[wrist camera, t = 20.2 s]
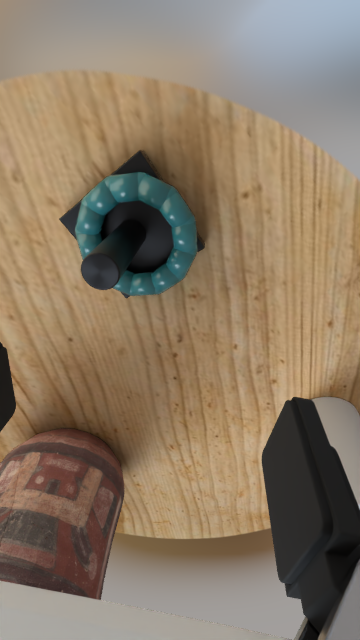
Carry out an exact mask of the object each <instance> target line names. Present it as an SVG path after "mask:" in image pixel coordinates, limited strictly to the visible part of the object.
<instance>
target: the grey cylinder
mask: <svg viewBox="0 0 360 640" xmlns="http://www.w3.org/2000/svg"><path fill="white" fill-rule="evenodd" d="M311 400H312V401H313V402H314V403H315V406H316V408H317V411H318V414H319V416H320V419H321V422H322V424H323V427H324V430H325V432H326V435H327V438H328V440H329V443H330V446H333V447H334V448H335V449H336V451H337V453H338V455H339V457H340V460H341V462H342V465H343V468H344V470H345V473H346V475H347V478H348V480H349V483H350V485H351V488H352V491H353V493H354V496H355V498H356V501H357V503H358V506H359V508H360V415H359V413H358V412H357V410H356V408H355V407H354V406H353V405H352V404H351V403H349V402H348V401H346V400H343V399H340V398H335V397H320V398H315V399H311Z"/></svg>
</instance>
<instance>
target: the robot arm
mask: <svg viewBox="0 0 360 640" xmlns="http://www.w3.org/2000/svg"><path fill="white" fill-rule="evenodd" d="M15 409H16V402H15V396H14V390H13V384H12V378H11V372H10V366H9V360H8V354H7V349H6V348H5V347H3V345H2V343H1V342H0V432H1V430H2V429H3V428H4V426H5V425H6V424H7V422H8V421H9V420H10V418H11V417H12V415H13V414H14V412H15ZM262 467H263V474H264V481H265V488H266V495H267V502H268V509H269V516H270V523H271V530H272V536H273V544H274V551H275V557H276V565H277V572H278V577H279V580H280V581H281V582H282V583H285V588H286V594H287V597H292V598H298V599H301V602H302V608H303V613H304V615H305V616H306V617H305V619H304V621H303V623H302V625H301V627H300V629H299V631H298V633H297V635H296V637H295V639H294V640H360V508H359V506H358V503H357V501H356V498H355V496H354V493H353V491H352V488H351V485H350V483H349V480H348V478H347V475H346V473H345V470H344V468H343V465H342V462H341V460H340V457H339V455H338V453H337V451H336V449H335V448H334V447H333V446H330V443H329V440H328V438H327V435H326V432H325V430H324V427H323V424H322V422H321V419H320V416H319V414H318V411H317V408H316V406H315V403H314V402H313V401H312V400H309V399H304V398H298V397H293V398H292V400H291V401H290V400H287V401H286V402H285V404H284V407H283V409H282V411H281V413H280V415H279V417H278V420H277V422H276V424H275V426H274V428H273V430H272V433H271V435H270V437H269V439H268V441H267V444H266V446H265V448H264V450H263V453H262ZM0 640H290V639H287V638H282V637H277V636H273V635H269V634H264V633H260V632H255V631H250V630H246V629H241V628H237V627H232V626H227V625H223V624H218V623H213V622H208V621H203V620H198V619H193V618H188V617H183V616H178V615H173V614H168V613H163V612H158V611H153V610H148V609H143V608H138V607H133V606H128V605H123V604H118V603H112V602H107V601H102V600H97V599H92V598H87V597H82V596H77V595H72V594H66V593H61V592H56V591H51V590H46V589H41V588H35V587H30V586H25V585H20V584H15V583H10V582H4V581H0Z"/></svg>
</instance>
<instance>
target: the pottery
mask: <svg viewBox="0 0 360 640" xmlns="http://www.w3.org/2000/svg"><path fill="white" fill-rule="evenodd" d="M123 498H124V480H123V474H122V470H121V466H120V463H119V461H118V460H117V458H116V456H115V455H114V453H113V452H112V450H111V449H110V448H109V446H108V445H107V444H105V443H104V442H103V441H102V440H101V439H99V438H97V437H96V436H94V435H92V434H90V433H87V432H84V431H80V430H77V429H66V428H61V429H56V430H51V431H47V432H43V433H39V434H37V435H35V436H33V437H32V438H30V439H28V440H27V441H25V442H23V443H22V444H20V445H19V446H17V447H16V448H14V449H13V450H12V451H11V452H10V453H9V454H7V455H6V457H5V458H4V459H3V461H2V462H1V463H0V581H4V582H10V583H15V584H20V585H25V586H30V587H35V588H41V589H46V590H51V591H56V592H61V593H66V594H72V595H77V596H82V597H87V598H92V599H97V600H101V594H102V589H103V582H104V578H105V573H106V568H107V563H108V559H109V555H110V550H111V545H112V541H113V537H114V534H115V530H116V526H117V523H118V519H119V515H120V512H121V508H122V504H123Z"/></svg>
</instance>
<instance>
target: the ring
mask: <svg viewBox="0 0 360 640" xmlns="http://www.w3.org/2000/svg"><path fill="white" fill-rule="evenodd" d="M133 201H141V202H143V203H145V204H147V205H150V206H152V207H154V208H156V209H158V210H159V211H160V212H161V214H162V215H163V216H164V218H165V219H166V221H167V222H168V223H169V225H170V226H171V230H172V238H173V249H172V251H171V253H170V255H169V258H168V260H167V262H166V263H165V264H163V265H162V266H161V267H159V268H158V269H156V270H155V271H153V272H146V273H133V272H131V271H128V270H125V272H124V274H123V275H122V277H121V278H120V280H119V281H118V283H117V284H116V285H115V286H114V287H113V289H116V290H118V291H120V292H123V293H125V294H128V295H130V296H140V295H156V294H161V293H163V292H164V291H166V290H167V289H169V288H170V287H172V286H174V285H175V284H177V283H178V282H180V281H181V280H183V279H184V278H185V276H186V274H187V272H188V270H189V268H190V266H191V264H192V262H193V260H194V258H195V256H196V254H197V251H198V243H197V231H196V219H195V216H194V214H193V213H192V211H191V210H190V208H189V207H188V205H187V204H186V202H185V201H184V200H183V198H182V197H181V195H180V194H179V192H178V191H177V189H176V188H175V187H173V186H171V185H169V184H167V183H165V182H163V181H161V180H159V179H157V178H155V177H153V176H151V175H149V174H147V173H144V172H134V173H126V174H117V175H110V176H107V177H106V178H104V179H103V180H102V181H101V182H100V183H99V184H98V185H97V186H95V187H94V188H93V189H92V190H91V191H90V192H89V193H88V194H86V195H85V196H84V198H83V199H82V202H81V206H80V210H79V214H78V218H77V222H76V226H75V234H76V237H77V241H78V245H79V248H80V252H81V256H82V259H83V260H84V258H85V257H86V256H87V255H88V254H89V253H90V252H91V251H93V250H94V249H95V248H96V247H97V246H98V245H99V244H100V243H101V242H102V237H101V229H102V225H103V222H104V219H105V215H106V214H107V213H108V212H109V211H111V210H112V209H113V208H114V207H115V206H117V205H118V204H119V203H123V202H133Z"/></svg>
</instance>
